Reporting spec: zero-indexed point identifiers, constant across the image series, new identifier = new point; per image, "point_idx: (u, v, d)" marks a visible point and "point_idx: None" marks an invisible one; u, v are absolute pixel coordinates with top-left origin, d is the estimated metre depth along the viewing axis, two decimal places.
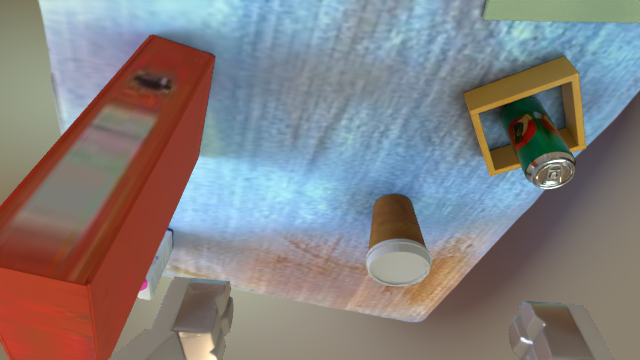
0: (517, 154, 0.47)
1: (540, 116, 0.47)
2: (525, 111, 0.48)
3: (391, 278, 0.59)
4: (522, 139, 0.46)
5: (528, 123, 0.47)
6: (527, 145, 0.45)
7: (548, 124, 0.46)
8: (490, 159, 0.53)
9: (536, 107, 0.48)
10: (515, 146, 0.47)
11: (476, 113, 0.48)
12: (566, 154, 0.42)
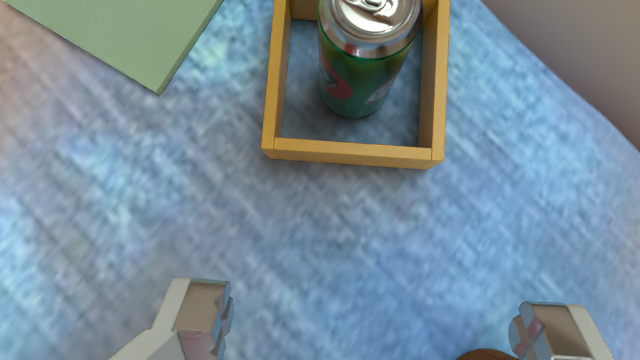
0: (350, 79, 0.22)
1: None
2: None
3: None
4: (325, 66, 0.23)
5: None
6: (323, 53, 0.21)
7: None
8: (396, 148, 0.25)
9: None
10: (341, 83, 0.23)
11: (272, 139, 0.26)
12: None
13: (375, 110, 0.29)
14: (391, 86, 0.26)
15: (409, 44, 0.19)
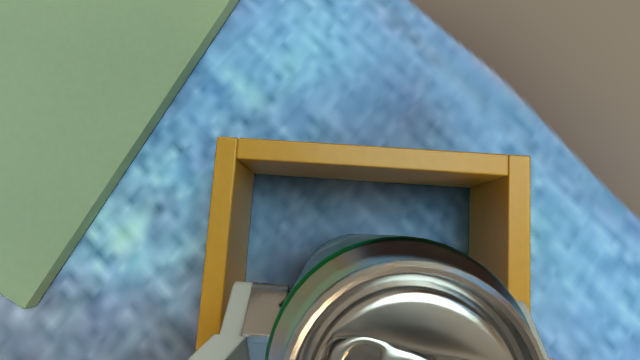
0: None
1: None
2: None
3: None
4: None
5: None
6: None
7: (312, 259, 0.12)
8: None
9: None
10: None
11: None
12: (318, 279, 0.07)
13: None
14: None
15: None
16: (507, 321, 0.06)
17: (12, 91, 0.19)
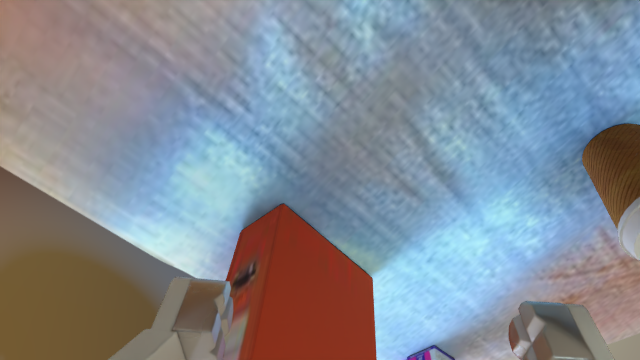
0: None
1: None
2: None
3: None
4: None
5: None
6: None
7: None
8: None
9: None
10: None
11: None
12: None
13: None
14: None
15: None
16: None
17: None
